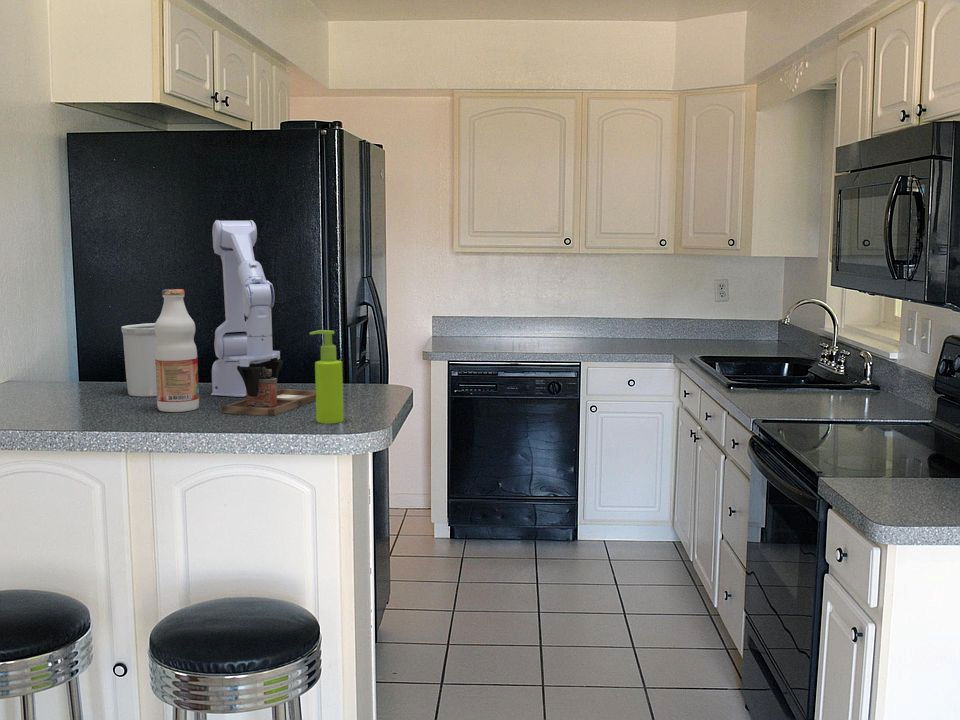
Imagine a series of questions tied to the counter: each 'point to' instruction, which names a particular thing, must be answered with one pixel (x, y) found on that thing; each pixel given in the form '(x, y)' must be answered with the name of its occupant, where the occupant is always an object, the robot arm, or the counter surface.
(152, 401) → the counter surface
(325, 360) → the soap dispenser
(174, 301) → the fruit juice
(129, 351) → the utensil holder
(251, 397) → the lighter
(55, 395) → the counter surface
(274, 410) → the tray
